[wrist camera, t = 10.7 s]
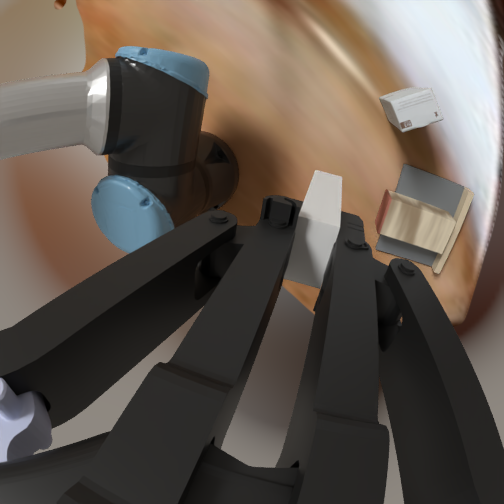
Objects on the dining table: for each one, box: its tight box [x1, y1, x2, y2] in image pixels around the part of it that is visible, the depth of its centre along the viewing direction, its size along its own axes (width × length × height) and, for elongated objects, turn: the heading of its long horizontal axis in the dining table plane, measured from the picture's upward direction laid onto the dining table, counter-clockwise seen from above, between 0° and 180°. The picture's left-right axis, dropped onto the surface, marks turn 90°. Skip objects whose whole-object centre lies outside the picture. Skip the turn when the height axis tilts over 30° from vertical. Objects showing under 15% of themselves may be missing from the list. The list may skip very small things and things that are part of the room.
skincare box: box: [379, 87, 443, 132], centre depth 33 cm, size 6×4×12 cm
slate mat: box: [376, 164, 474, 274], centre depth 44 cm, size 13×16×3 cm
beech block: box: [375, 189, 456, 254], centre depth 43 cm, size 4×6×12 cm
